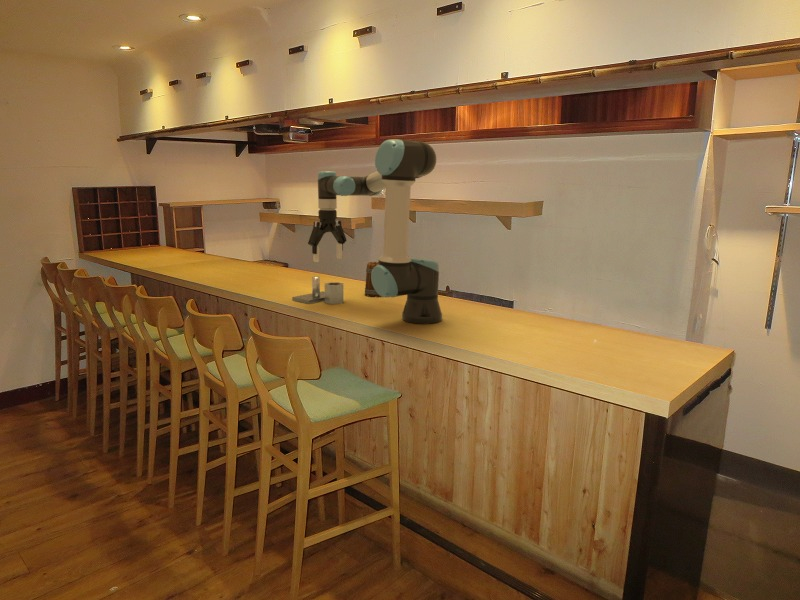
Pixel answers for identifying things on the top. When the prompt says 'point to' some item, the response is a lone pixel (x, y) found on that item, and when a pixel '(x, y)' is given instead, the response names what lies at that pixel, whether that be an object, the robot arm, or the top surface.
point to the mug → (369, 287)
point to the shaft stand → (315, 295)
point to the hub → (334, 293)
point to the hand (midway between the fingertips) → (328, 260)
